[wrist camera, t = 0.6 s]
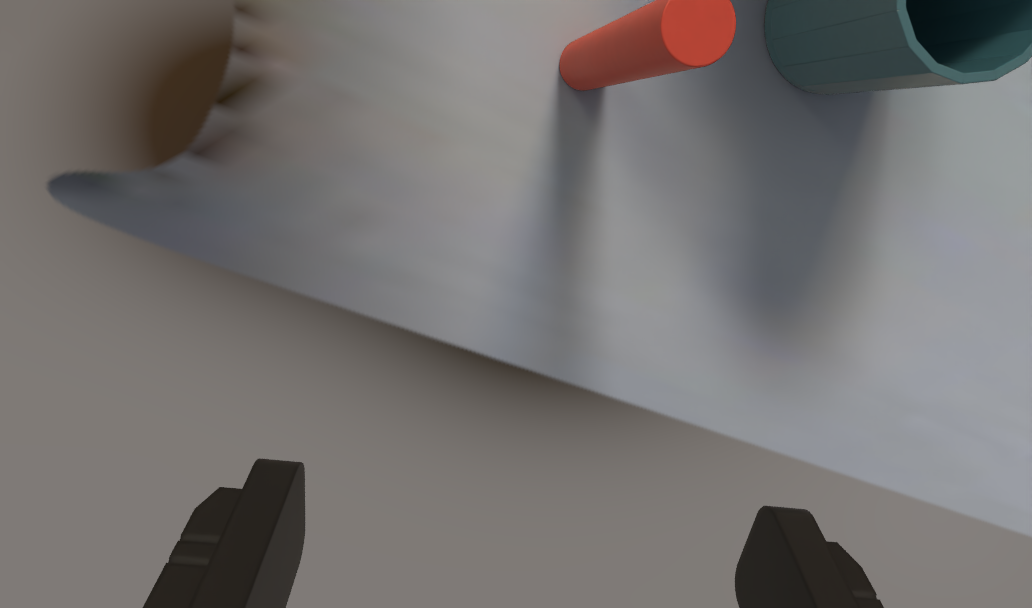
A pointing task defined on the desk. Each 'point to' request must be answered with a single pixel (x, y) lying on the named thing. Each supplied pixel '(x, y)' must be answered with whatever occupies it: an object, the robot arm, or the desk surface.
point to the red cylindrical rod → (650, 43)
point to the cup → (896, 42)
